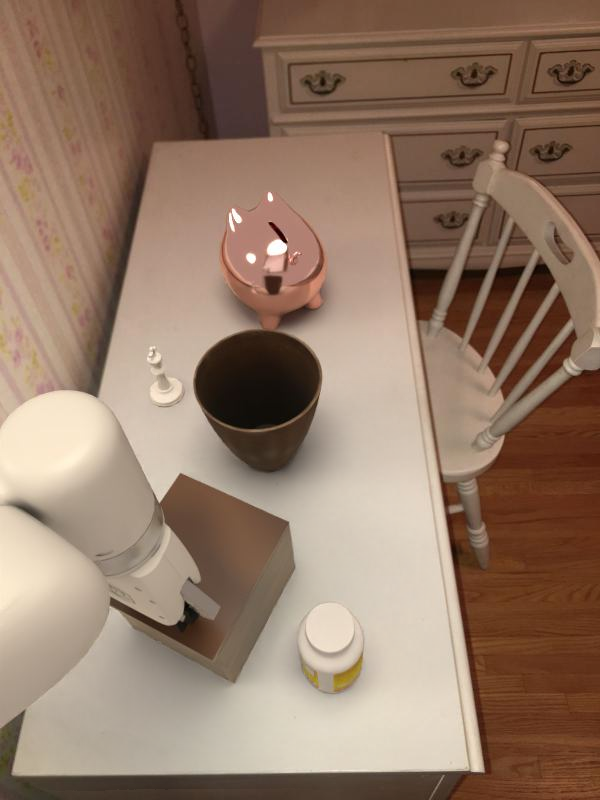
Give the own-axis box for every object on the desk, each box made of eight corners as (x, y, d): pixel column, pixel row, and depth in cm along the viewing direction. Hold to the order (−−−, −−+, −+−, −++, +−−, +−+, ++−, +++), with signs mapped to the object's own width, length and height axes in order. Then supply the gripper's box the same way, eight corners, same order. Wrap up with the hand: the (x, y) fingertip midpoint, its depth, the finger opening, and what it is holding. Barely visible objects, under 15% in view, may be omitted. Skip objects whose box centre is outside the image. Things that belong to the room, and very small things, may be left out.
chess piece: (145, 403, 92) (126, 359, 84) (157, 377, 95) (140, 331, 87) (177, 409, 92) (161, 365, 84) (188, 382, 94) (174, 337, 86)
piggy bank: (286, 246, 111) (279, 164, 98) (346, 308, 102) (347, 227, 89) (207, 282, 106) (189, 202, 94) (262, 350, 97) (251, 272, 84)
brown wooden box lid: (213, 662, 60) (204, 647, 56) (97, 599, 64) (79, 580, 60) (289, 524, 68) (286, 502, 63) (181, 475, 72) (171, 451, 67)
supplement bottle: (367, 639, 72) (373, 601, 61) (354, 702, 68) (357, 672, 58) (309, 624, 73) (305, 584, 63) (293, 684, 70) (286, 652, 59)
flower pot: (338, 419, 89) (339, 344, 76) (302, 512, 81) (296, 446, 68) (239, 393, 93) (224, 316, 80) (195, 479, 85) (170, 410, 72)
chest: (234, 683, 70) (218, 655, 60) (132, 627, 74) (102, 592, 64) (295, 567, 77) (289, 525, 68) (199, 521, 81) (181, 476, 72)
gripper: (-14, 518, 48) (69, 599, 62) (178, 620, 43) (219, 683, 57) (52, 440, 52) (115, 534, 66) (235, 526, 46) (259, 607, 61)
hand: (163, 602), depth 62 cm, fingers closed on brown wooden box lid, 5 cm apart
